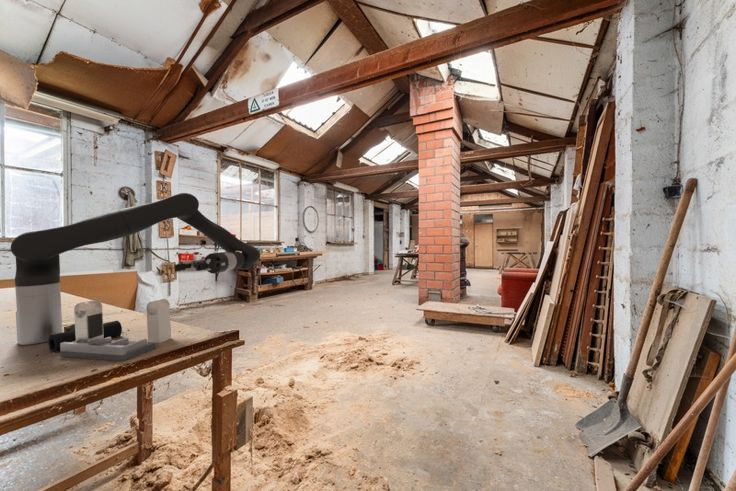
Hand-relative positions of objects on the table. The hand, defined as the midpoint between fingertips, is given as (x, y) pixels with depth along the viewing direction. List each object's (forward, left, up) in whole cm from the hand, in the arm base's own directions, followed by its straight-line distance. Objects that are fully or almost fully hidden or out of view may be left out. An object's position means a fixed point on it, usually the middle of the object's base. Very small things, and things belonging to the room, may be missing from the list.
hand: (185, 267), depth 98 cm
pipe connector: (-24, -15, -21) cm, 35 cm away
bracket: (-6, -20, -21) cm, 29 cm away
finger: (0, -10, -21) cm, 23 cm away
